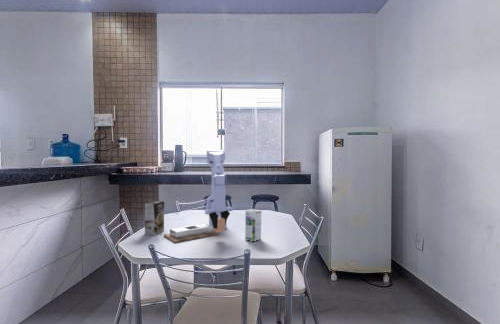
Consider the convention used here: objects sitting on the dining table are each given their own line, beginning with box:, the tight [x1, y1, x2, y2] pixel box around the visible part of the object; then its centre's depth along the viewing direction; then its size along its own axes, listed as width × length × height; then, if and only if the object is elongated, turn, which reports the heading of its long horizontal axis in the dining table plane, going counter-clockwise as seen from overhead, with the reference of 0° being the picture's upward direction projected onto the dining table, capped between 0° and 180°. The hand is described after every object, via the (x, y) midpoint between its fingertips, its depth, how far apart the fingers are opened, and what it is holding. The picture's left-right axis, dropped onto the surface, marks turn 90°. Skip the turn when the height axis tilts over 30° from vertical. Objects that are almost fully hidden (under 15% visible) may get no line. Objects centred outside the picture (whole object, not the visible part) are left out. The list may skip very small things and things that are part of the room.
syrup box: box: [244, 208, 262, 242], centre depth 135 cm, size 6×6×14 cm
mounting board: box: [163, 230, 220, 244], centre depth 142 cm, size 24×14×1 cm, turn 128°
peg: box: [214, 217, 226, 233], centre depth 134 cm, size 4×4×6 cm
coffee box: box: [144, 200, 165, 236], centre depth 147 cm, size 9×6×16 cm
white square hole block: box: [169, 223, 213, 239], centre depth 142 cm, size 20×8×3 cm, turn 128°
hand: (219, 227), depth 134 cm, fingers closed on peg, 4 cm apart
